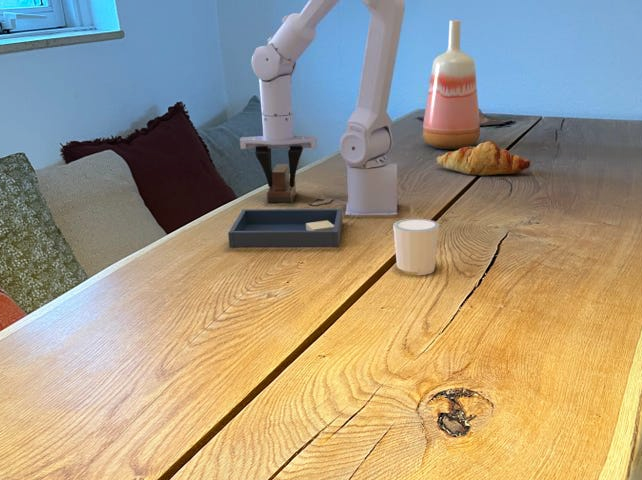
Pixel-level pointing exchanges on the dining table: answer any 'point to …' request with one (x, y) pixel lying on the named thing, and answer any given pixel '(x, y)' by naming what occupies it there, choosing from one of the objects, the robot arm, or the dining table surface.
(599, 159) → the dining table surface
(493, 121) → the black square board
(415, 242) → the shot glass
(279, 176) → the stepped wooden pedestal
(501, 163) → the croissant
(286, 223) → the tray
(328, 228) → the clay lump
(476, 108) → the vase
